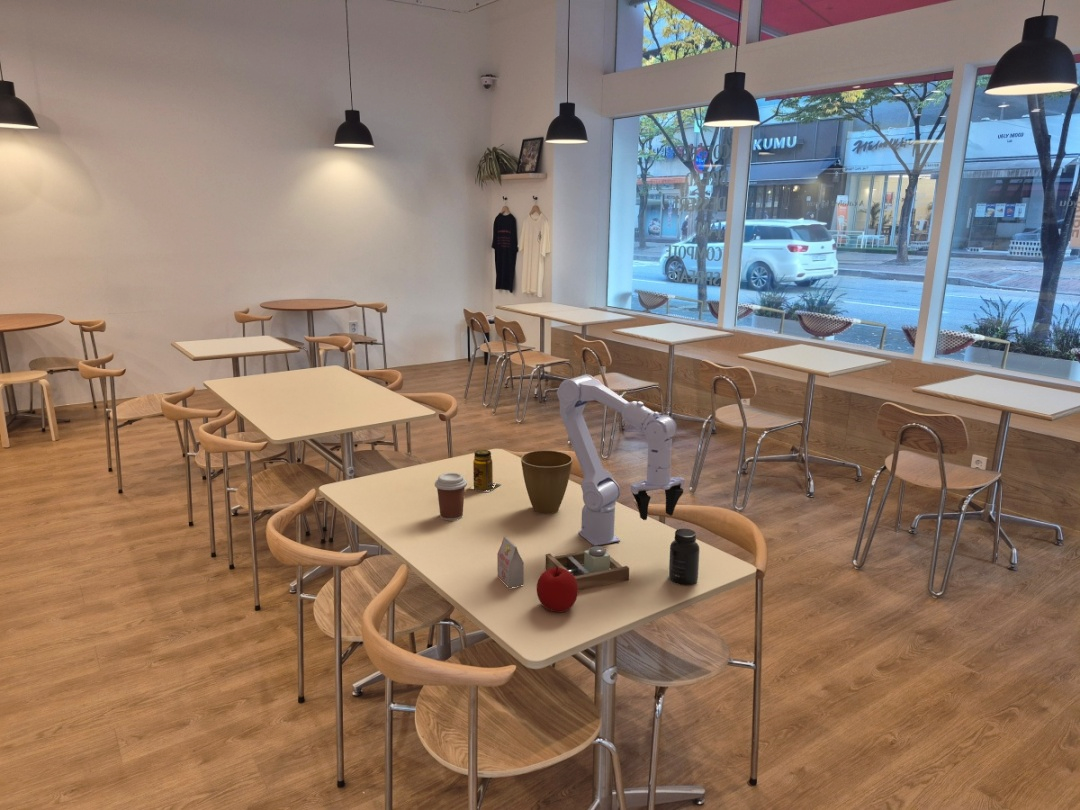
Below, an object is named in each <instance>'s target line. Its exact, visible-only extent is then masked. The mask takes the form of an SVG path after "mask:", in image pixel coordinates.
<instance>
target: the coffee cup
mask: <svg viewBox="0 0 1080 810" xmlns="http://www.w3.org/2000/svg"><path fill="white" fill-rule="evenodd" d="M467 486H468V481H467V480H466V479H465V478H464V475H462V474H461V473H458V472H446V473H442V474H439V476H438V477H437V479H436V480H435V482H434V487H435V488H436V489H437V491H436V492H437V500H438V508H439V516H440V517H439V518H440V519H441V518H442V519H441V520H443V519H444V521H448V520H449V521H450V520H451V521H457V519H458V520H460V519H462V518H463V517H462V516H464V503H465V502H464V500H465V488H466V487H467ZM449 521H448V522H449Z"/></svg>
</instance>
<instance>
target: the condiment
mask: <svg viewBox="0 0 1080 810" xmlns="http://www.w3.org/2000/svg"><path fill="white" fill-rule="evenodd" d="M473 455H474V456H473V458H474V459H473V462H472V463H473V464H472V466H473V467H472V468H473V471H472V472H473V486H474V489H476V490H479V491H478V492H484V493H489V492H491V491H493V490H495V489H496V488H498V487H499V486H500V485H502V483H496V485H495V487H494V488H493V487H492V486H494V485H493V484H495V482H494V481H493V480H494V479H493V478H494V476H493V475H494V474H493V472H494V468H493V458H492V452H491V450H488V449H478V450H475V451H474V454H473ZM471 487H472V486H471ZM471 487H469V488H468V489H469V490H472V491H476V490H474V489H470V488H471ZM486 490H487V491H486ZM490 490H491V491H490Z"/></svg>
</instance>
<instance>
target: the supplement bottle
mask: <svg viewBox="0 0 1080 810" xmlns="http://www.w3.org/2000/svg"><path fill="white" fill-rule="evenodd" d="M696 536H697V534H696V530H693V529H690V528H677V529H676V530H675V532H674V540H672V542H671V543H670V545H669V559H668V560H669V565H668V566H669V567H668V578H669V579H670V581H671V582H673V583H674V584H677V585H679V584H680V586H691V585H694V584H695V583H697V582H698V579H699V569H700V567H699V566H700V565H699V564H700V545H699V544H698V543H697V537H696Z"/></svg>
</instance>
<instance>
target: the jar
mask: <svg viewBox="0 0 1080 810" xmlns="http://www.w3.org/2000/svg"><path fill="white" fill-rule="evenodd" d="M605 549H606V548H605V547H604V548H603V547H602V546H599V545H597V546H592V547H591V546H590V547H589V548H588V549H587V551H586V550H583V551H584V565H583V567H584V568H585V569H586V570H587V571H588V572H590V573H594V572H599V571H604V570H609V569H610V557H611V554H609V553H608V552H607V549H606V550H605Z"/></svg>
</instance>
